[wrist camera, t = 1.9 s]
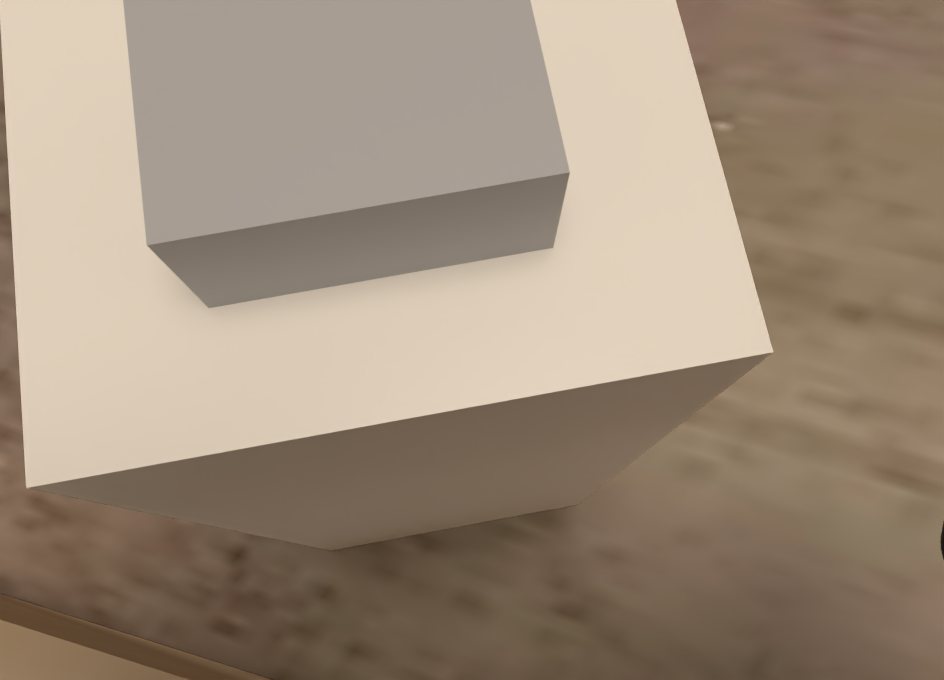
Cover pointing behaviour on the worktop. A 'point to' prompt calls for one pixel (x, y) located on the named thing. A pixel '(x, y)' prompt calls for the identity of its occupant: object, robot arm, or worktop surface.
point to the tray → (91, 651)
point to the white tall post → (362, 256)
